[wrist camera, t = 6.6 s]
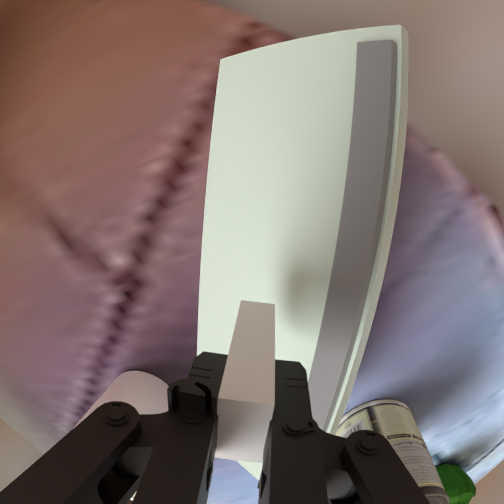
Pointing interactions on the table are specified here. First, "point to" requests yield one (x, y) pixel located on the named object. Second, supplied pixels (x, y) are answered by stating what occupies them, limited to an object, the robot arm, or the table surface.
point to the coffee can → (398, 441)
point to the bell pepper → (456, 483)
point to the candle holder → (135, 394)
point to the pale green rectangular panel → (305, 199)
